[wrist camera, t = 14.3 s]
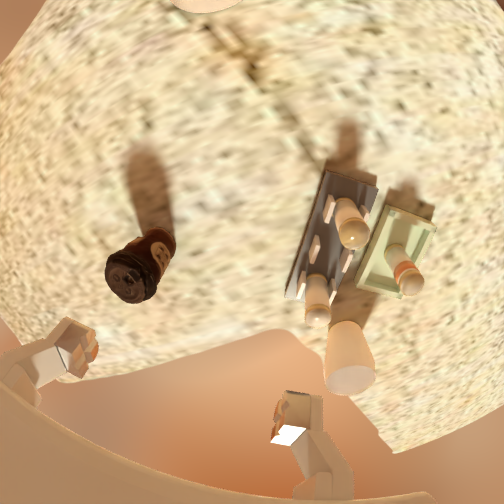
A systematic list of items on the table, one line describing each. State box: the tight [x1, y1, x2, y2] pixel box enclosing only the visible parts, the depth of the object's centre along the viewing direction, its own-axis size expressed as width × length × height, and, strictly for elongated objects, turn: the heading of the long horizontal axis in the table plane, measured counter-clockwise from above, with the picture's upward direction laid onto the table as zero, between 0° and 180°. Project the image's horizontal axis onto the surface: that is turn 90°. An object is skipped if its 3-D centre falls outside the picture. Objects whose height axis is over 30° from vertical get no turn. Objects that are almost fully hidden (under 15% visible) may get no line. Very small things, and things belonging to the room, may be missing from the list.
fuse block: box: [284, 170, 379, 305], centre depth 41 cm, size 22×8×5 cm, turn 168°
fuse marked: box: [384, 243, 424, 296], centre depth 38 cm, size 4×4×9 cm
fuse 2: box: [332, 197, 370, 250], centre depth 35 cm, size 4×4×9 cm
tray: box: [354, 204, 437, 299], centre depth 41 cm, size 14×9×2 cm, turn 168°
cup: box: [324, 321, 376, 395], centre depth 46 cm, size 9×9×12 cm
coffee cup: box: [105, 227, 176, 304], centre depth 42 cm, size 9×8×13 cm
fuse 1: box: [305, 273, 331, 328], centre depth 42 cm, size 4×4×9 cm
